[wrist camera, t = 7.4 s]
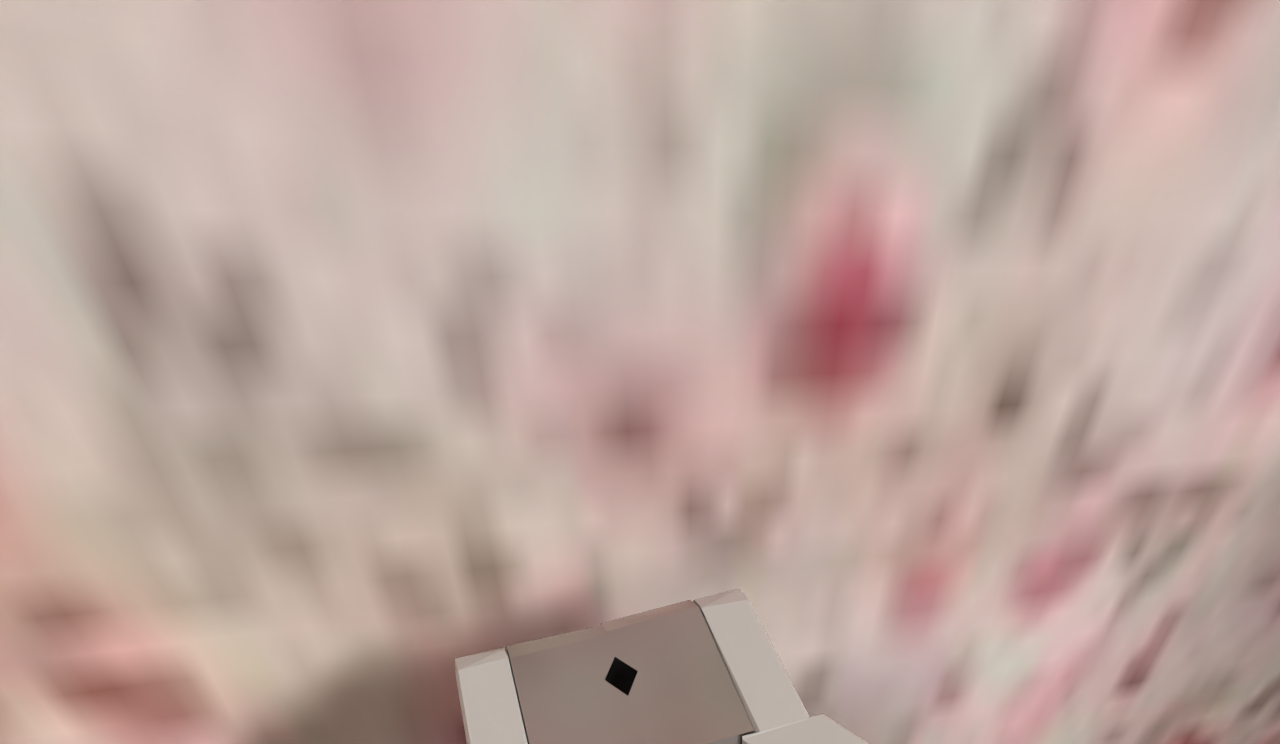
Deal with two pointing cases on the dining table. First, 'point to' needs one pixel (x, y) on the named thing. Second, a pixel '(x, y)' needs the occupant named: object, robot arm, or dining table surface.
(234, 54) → the dining table surface
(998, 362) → the dining table surface
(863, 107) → the dining table surface
